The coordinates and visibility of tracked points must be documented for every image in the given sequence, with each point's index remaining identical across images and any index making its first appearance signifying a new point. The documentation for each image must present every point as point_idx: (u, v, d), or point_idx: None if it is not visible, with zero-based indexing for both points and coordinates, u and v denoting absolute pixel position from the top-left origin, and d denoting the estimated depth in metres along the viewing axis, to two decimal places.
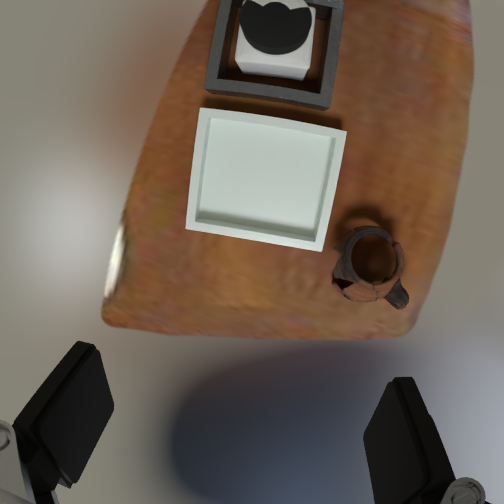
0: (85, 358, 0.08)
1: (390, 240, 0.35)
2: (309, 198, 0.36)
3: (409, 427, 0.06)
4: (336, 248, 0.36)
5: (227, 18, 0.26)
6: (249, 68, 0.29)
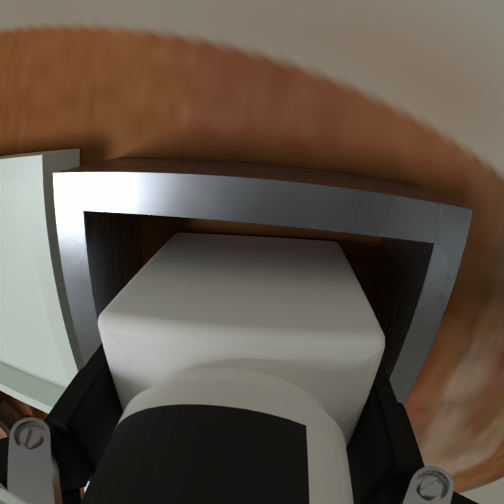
0: None
1: None
2: (11, 355, 0.17)
3: (376, 413, 0.07)
4: None
5: (327, 227, 0.08)
6: None
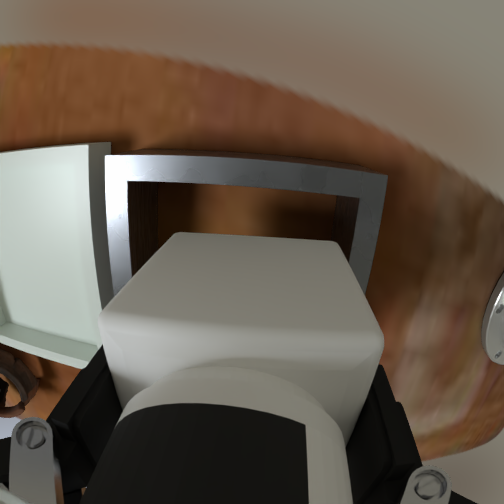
0: None
1: None
2: (35, 318, 0.22)
3: (374, 412, 0.07)
4: None
5: (285, 187, 0.14)
6: None
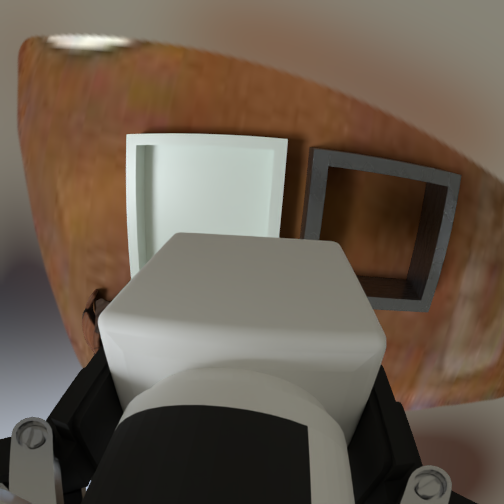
0: None
1: None
2: None
3: (374, 412, 0.07)
4: None
5: (414, 178, 0.23)
6: None
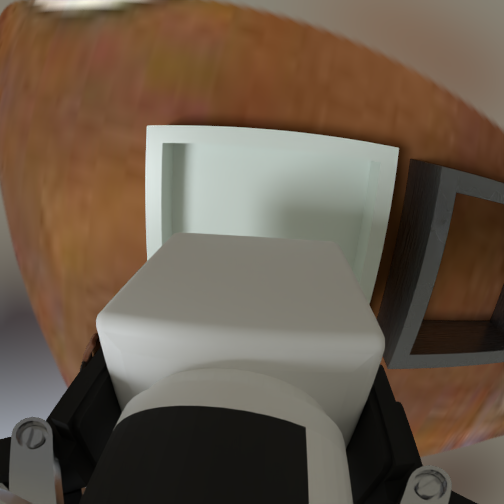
0: None
1: None
2: None
3: (374, 412, 0.07)
4: None
5: None
6: None
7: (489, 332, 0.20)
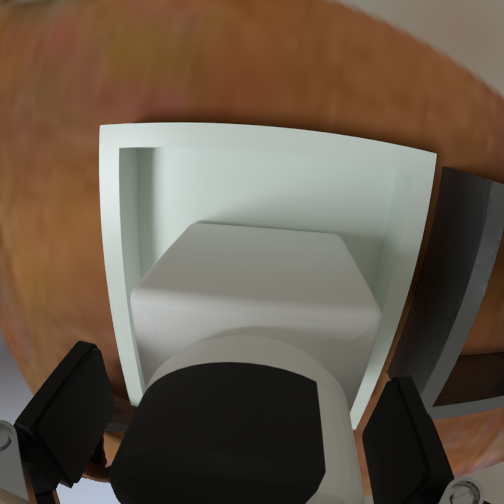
0: (86, 358, 0.08)
1: None
2: None
3: (408, 426, 0.06)
4: None
5: None
6: None
7: None
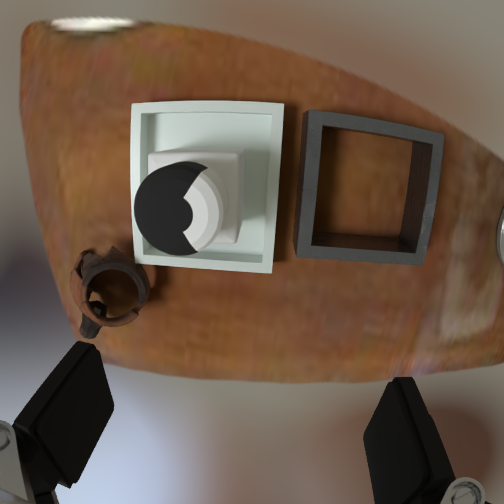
0: (85, 358, 0.08)
1: (138, 304, 0.33)
2: None
3: (409, 427, 0.06)
4: (112, 249, 0.31)
5: (401, 136, 0.24)
6: None
7: (394, 243, 0.30)
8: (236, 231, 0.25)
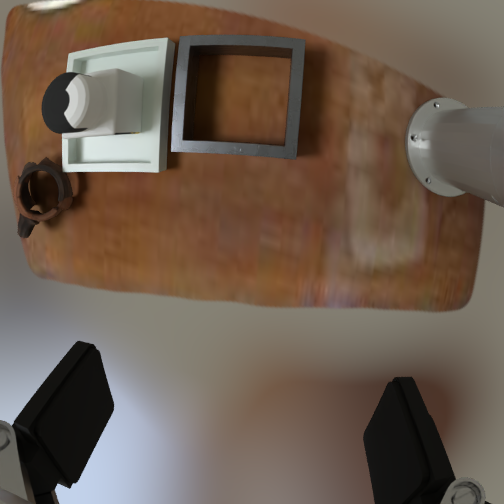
0: (85, 358, 0.08)
1: (59, 204, 0.36)
2: (104, 151, 0.36)
3: (409, 427, 0.06)
4: (44, 159, 0.34)
5: (259, 45, 0.27)
6: None
7: None
8: (114, 124, 0.28)
